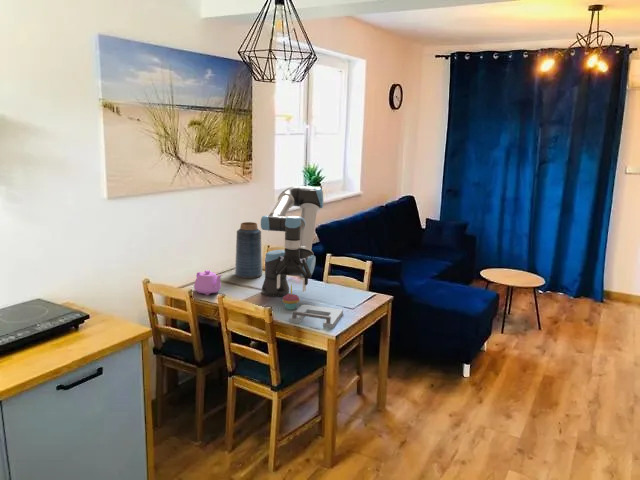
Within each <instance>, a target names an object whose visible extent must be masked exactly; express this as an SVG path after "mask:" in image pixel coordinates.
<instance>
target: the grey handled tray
mask: <svg viewBox="0 0 640 480" xmlns="http://www.w3.org/2000/svg"><path fill="white" fill-rule="evenodd" d="M291 313H292V315H291V316H290V317H289V318H288V322H289V323H294V324H299V323H300V322H301V321H302V320H303V319H304V318H305V317H309V318H314V319H323V320H324V321H323V322H322V327H323V328H329V329H333V328H334V326H335V325H336V324H337V322H338V321H339V320H340V319H341V317H342V316H343V315H344V309H340V308H332V307H325V306H319V305H318V306H316V305H313V304H311V305H310V304H301V306H299V307H298V308H297V309H296V310H293V311H292V312H291Z"/></svg>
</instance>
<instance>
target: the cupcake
mask: <svg viewBox="0 0 640 480" xmlns="http://www.w3.org/2000/svg"><path fill="white" fill-rule="evenodd" d="M282 302H283V304H284V305H285V308H286V309H287V310H295V309H296V307H297V304H298V303H299V302H300V297H299V296H298V295H297V294H294V293H293V285H292V284H290V293H289V294H287V295H285V296H282Z"/></svg>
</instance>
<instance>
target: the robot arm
mask: <svg viewBox="0 0 640 480" xmlns="http://www.w3.org/2000/svg"><path fill="white" fill-rule="evenodd" d="M292 207H299V210H300V211H301V213H300V215H299V216H298V215H288V216H287V213H288V212H289V210H290V209H291V208H292ZM323 208H324V192H323V189H322V188H321V187H318V186H317V187H316V186H303V185H302V186H301V185H300V186H299V185H298V186H297V185H295V186H291V187H288V188H286V189H285V190H283V191H282V192H281V193H280V194H279V195H278V197H277V202H276V203H275V205H274V206H273V208H272V210H271V211H270V213H269V214H268V215H262V217H261V219H260V229H261V230H262V231H268V232H283V233H284V249H274V250H270V251H268V252H266V253H265V256H264V257H265V258H264V264H265V265H264V280H263V283H262V287H261V293H262V295H264V296H268V297H284V296H285V295H287V294H290V286H289V283H288V280H287V276H293V277H301V278H302V277H303V278H302V292H304V293H305V291H306V290H307V286H308V284H309V279H311V278H312V275H313V273H314V270H315V266H316V256H315V255H314V252H313V250H312V247H313V241H314V235H315V234H314V233H315V228H316V220H317V214H319V212H320V211H321V209H323Z"/></svg>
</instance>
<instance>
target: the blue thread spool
mask: <svg viewBox="0 0 640 480" xmlns="http://www.w3.org/2000/svg"><path fill="white" fill-rule="evenodd" d="M235 243H236V245H235V264H234V265H235V266H234V273H235V276H236V277H238V278H242V279H254V278H255V279H256V278H259V277H261V276H262V275H263V256H262V253H263V251H262V249H263V248H262V231H261V230H260V229H259V228H258V223H256V222H252V221H246V222H241V223H240V228H238V229H237V230H236V242H235Z"/></svg>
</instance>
